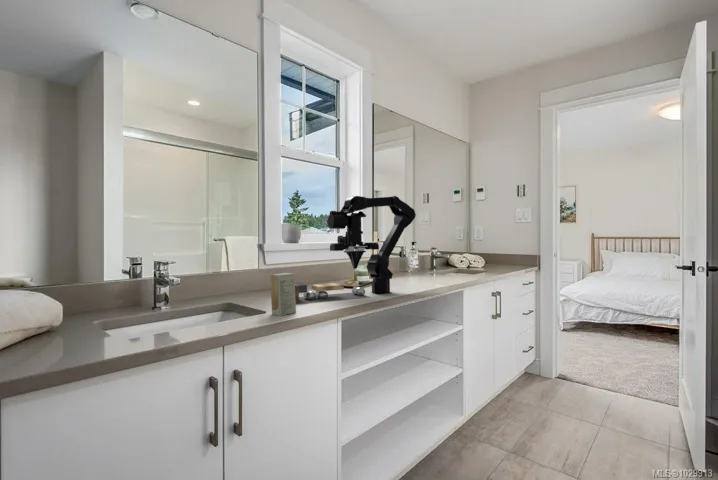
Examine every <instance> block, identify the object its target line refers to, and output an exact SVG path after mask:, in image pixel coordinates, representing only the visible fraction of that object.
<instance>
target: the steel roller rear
mask: <svg viewBox="0 0 718 480" xmlns="http://www.w3.org/2000/svg"><path fill="white" fill-rule="evenodd" d="M351 293H353V294H356V295H359V296H363V295H366V289H365V288H363V287H359V286H353V287H352V289H351Z"/></svg>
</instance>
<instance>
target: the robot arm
mask: <svg viewBox="0 0 718 480" xmlns="http://www.w3.org/2000/svg"><path fill="white" fill-rule="evenodd" d="M379 207H388V208H389V209H390V211H391V213H392V214H393V215H394V217H393V225H392V227H391V229H390V231H389V233H388V234H387V236H386V238H385V239H384V241H383V244H382V245H381V248H380V245H379V244H378V242H364V241H363V240H362V239H363V236H362V235H363V234H364V231H362V218H366V217H367V215H366V214H365V213H364V212H363V210H366V209H369V208H379ZM416 215H417V214H416V211H415V209H414V208H413V207H411V206H410V205H409V204H408V203H406V202H404V201H403V200H402V199H400V197H398V196H397V195H393V196H384V197H383V196H382V197H366V196H361V195H355V196H351V197H347V198H346V199H345V200H344V204H343V206H342V208H341V209H340V210H339V211H338V210H330V211H329V214H328V217H327V222H326V223H327V227H328V228H329V229H330V230H338V229H339V230H342V229H344V230H345V229H346V231H345V235H338V236H337V240H336V241H337V242H336V243H330V245H329V251H330V252H332V251H333V252H340V251H341V252H342V251H343V253H345V254H346V255H347V256H348V258H349V259H350V262H351V265H352V268H353V269H354V270H356V269H357V268H358V266H359V263H360V261H361V259H362V257H363V255H364V253H366V251H367V250H372V251H373V250H378V252H377V253H375V254H374V253H372V254H371V255H370V257H369V259H368V261H367V262H366V263H367V264H366V271H367V273H369V275H370V278H371V279H372V282H371V292H370V293H372V294H376V295H386V294H387V295H388V294H392V293H393V292H392V291H391V282H390V281H391V280H392V278H393V272H392V271H391V270H390V269H389V266H390V257H391V255H392V252H393V251H394V250H395V247H396V246H397V244H398V241H399V240H400V238H401V236H402V234H403V233H404V231H405V229H406V228H407V227H408V226H410V224H412V222H413V221H414V220H415V218H416Z"/></svg>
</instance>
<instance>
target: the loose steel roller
mask: <svg viewBox="0 0 718 480" xmlns="http://www.w3.org/2000/svg"><path fill="white" fill-rule="evenodd" d="M302 294H303V297H305V298H307V299H309V300H315V299H316V294H315V291H311V290H308V289H307V292H304V293H302Z"/></svg>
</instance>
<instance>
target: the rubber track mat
mask: <svg viewBox="0 0 718 480" xmlns="http://www.w3.org/2000/svg"><path fill="white" fill-rule="evenodd" d="M368 298H369V299H370V298H371V299H372V297H371V296H368V295H366V294H364V295H363V296H359V295H356V294H353V293H352V292H342V293H332V294H329V293H328V297H327V299H321V298H319V297H317V296H316V299H315V300H309V299H307V298H305V297H304V296H299V303H296V306H297V305H304V304H305V305H307V304H315V303H318V304H319V303H325V302H326V303H328V302H329V303H330V302H339V301H348V300H360V299H361V300H362V299H368Z"/></svg>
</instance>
